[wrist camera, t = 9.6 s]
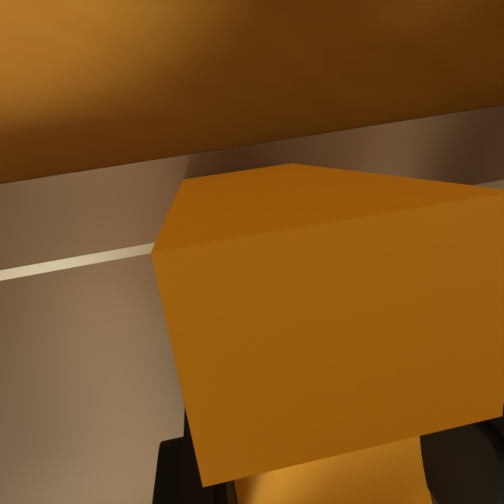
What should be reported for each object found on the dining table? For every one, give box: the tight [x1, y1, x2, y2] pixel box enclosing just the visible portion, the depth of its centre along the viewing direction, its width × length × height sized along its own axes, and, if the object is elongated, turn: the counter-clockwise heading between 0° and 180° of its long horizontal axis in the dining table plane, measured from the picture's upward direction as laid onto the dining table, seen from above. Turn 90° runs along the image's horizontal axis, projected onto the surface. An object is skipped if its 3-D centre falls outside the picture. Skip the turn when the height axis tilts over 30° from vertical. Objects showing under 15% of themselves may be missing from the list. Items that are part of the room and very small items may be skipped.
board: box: [0, 105, 504, 504], centre depth 10 cm, size 24×15×4 cm, turn 99°
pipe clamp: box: [151, 163, 504, 504], centre depth 7 cm, size 12×4×6 cm, turn 8°
